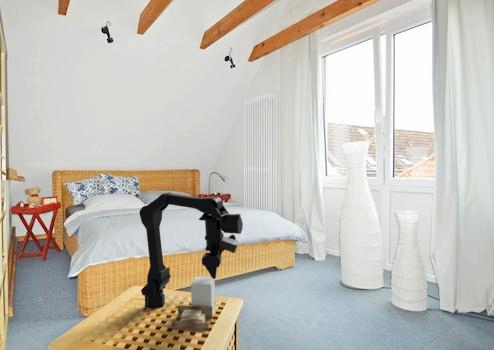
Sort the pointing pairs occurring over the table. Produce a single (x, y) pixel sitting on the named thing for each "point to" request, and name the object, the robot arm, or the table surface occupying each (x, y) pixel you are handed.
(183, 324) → the tray
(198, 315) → the offcut stack
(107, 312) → the table surface
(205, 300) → the supplement box
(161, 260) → the robot arm
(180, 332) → the table surface
